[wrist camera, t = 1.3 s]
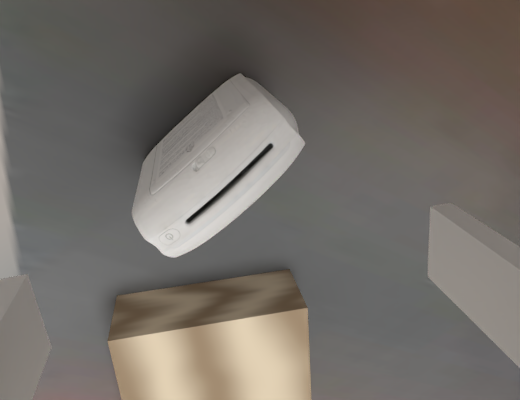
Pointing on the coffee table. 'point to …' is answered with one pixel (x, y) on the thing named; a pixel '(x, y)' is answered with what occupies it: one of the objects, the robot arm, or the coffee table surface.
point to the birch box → (213, 341)
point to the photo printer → (214, 165)
